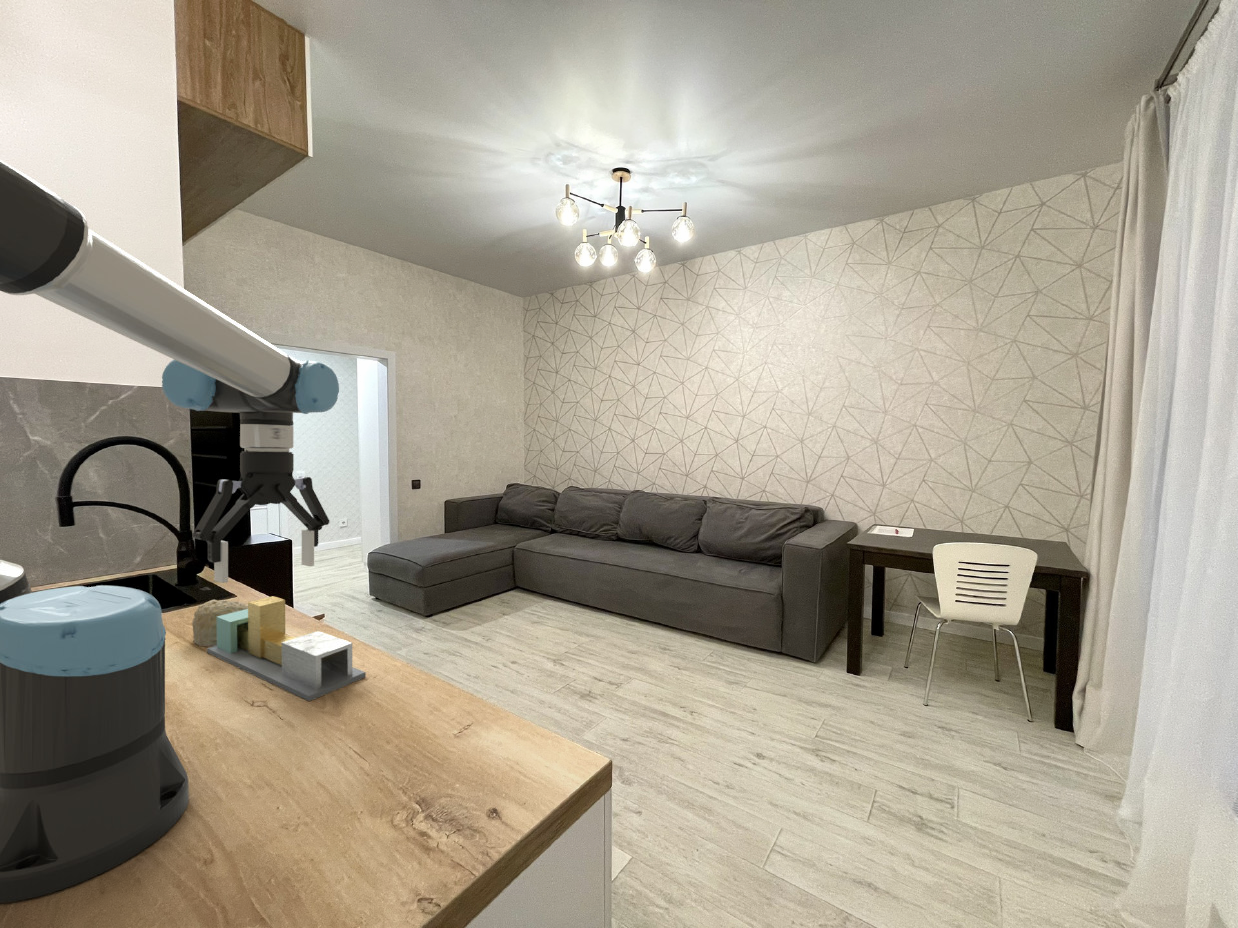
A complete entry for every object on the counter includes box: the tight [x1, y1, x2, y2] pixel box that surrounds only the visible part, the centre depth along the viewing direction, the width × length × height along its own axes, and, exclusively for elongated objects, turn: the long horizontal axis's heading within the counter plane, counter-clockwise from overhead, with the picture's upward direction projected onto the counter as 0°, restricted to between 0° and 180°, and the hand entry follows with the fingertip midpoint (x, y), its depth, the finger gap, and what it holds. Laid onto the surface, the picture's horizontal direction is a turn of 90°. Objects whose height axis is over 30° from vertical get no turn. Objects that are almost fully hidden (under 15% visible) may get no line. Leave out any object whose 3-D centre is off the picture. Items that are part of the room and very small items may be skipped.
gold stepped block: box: [237, 595, 296, 665], centre depth 87 cm, size 4×20×9 cm, turn 61°
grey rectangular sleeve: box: [282, 630, 353, 689], centre depth 81 cm, size 6×10×5 cm, turn 61°
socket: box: [216, 609, 248, 654], centre depth 92 cm, size 7×5×6 cm
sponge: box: [192, 599, 248, 647], centre depth 97 cm, size 9×10×10 cm
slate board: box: [206, 645, 367, 702], centre depth 86 cm, size 9×32×1 cm, turn 61°
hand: (267, 573), depth 87 cm, fingers open, 13 cm apart
